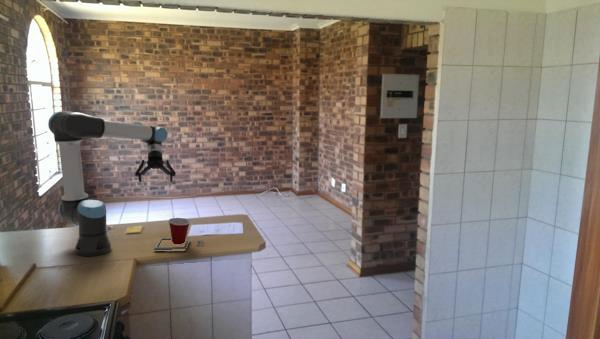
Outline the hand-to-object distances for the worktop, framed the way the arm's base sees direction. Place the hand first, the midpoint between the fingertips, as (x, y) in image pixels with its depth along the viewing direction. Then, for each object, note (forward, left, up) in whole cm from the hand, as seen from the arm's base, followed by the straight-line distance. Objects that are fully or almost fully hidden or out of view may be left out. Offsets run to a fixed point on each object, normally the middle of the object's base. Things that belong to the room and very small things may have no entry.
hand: (155, 186), depth 217 cm
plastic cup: (+14, -12, -26) cm, 32 cm away
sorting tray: (+11, -15, -27) cm, 33 cm away
